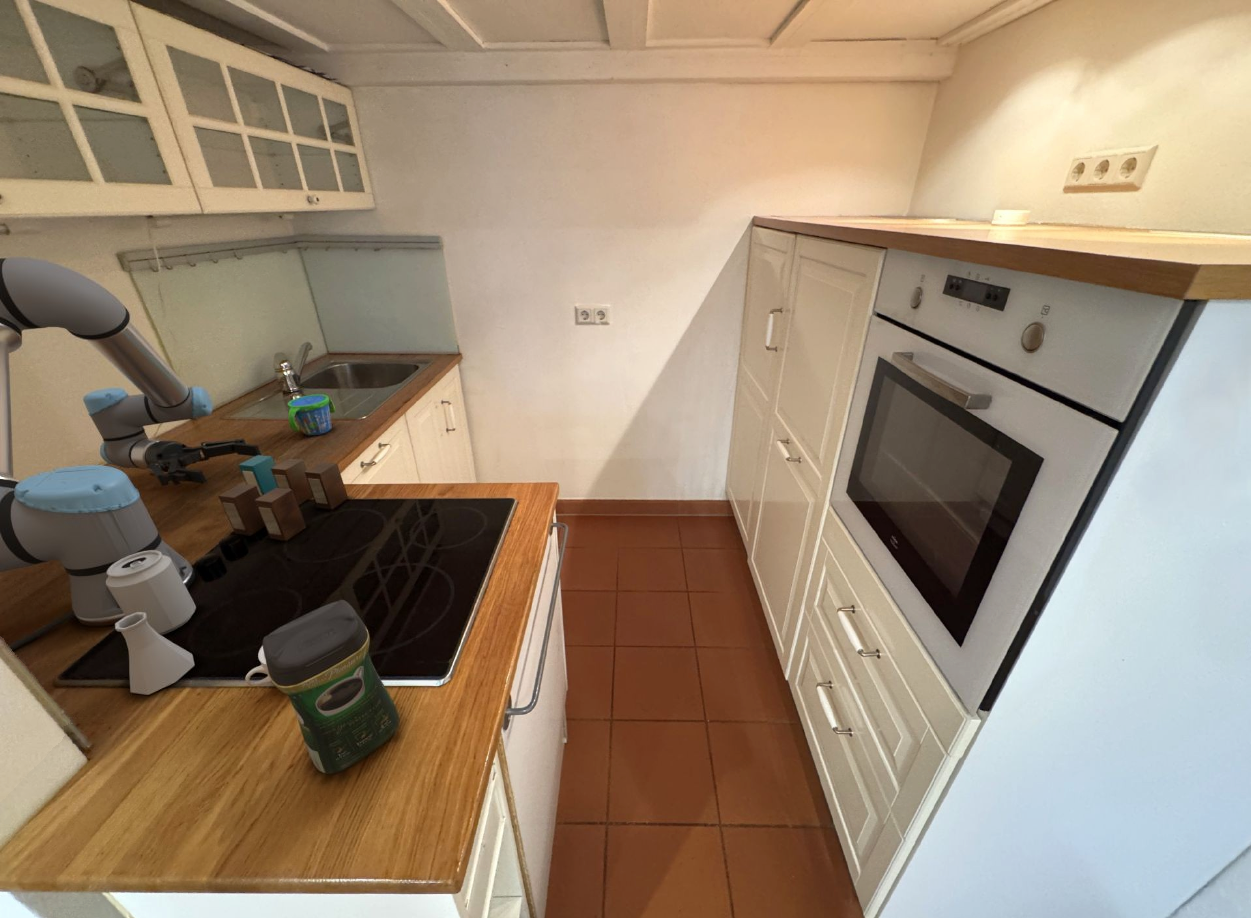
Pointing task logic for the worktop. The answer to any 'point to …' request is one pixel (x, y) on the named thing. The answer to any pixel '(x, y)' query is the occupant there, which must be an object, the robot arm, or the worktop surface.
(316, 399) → the snack cup
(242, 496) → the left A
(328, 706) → the coffee jar
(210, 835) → the worktop surface
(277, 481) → the brown rectangular box
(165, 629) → the can
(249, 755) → the worktop surface
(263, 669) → the teacup
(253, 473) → the teal rectangular block
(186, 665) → the flask
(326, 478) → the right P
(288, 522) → the brown wooden block
